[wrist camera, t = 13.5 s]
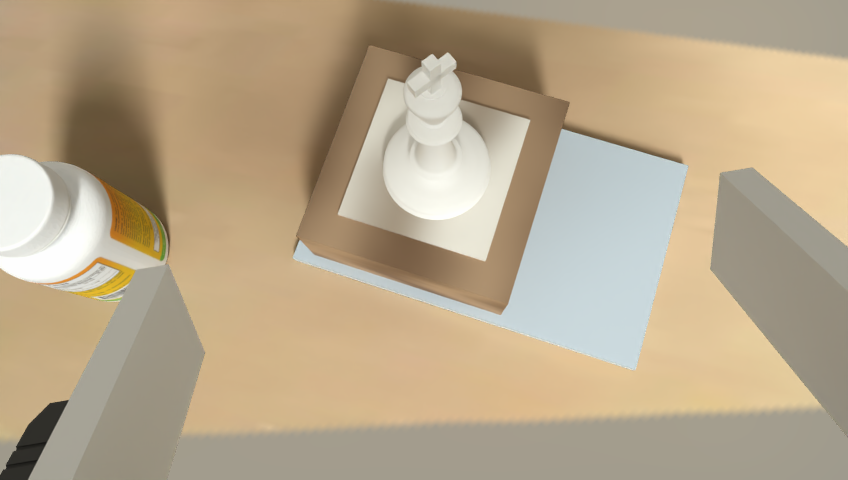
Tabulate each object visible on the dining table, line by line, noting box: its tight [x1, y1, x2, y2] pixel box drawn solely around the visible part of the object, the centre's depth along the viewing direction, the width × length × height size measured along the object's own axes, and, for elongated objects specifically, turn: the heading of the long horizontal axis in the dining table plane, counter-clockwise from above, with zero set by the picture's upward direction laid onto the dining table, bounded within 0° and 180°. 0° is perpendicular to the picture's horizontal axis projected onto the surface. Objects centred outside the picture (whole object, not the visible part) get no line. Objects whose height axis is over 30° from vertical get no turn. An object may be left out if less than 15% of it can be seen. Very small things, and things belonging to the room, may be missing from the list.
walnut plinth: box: [296, 45, 570, 315], centre depth 33 cm, size 10×10×5 cm
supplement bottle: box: [0, 154, 168, 302], centre depth 31 cm, size 5×5×10 cm
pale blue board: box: [293, 129, 688, 370], centre depth 35 cm, size 18×11×1 cm, turn 72°
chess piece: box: [383, 53, 491, 220], centre depth 26 cm, size 5×5×10 cm
